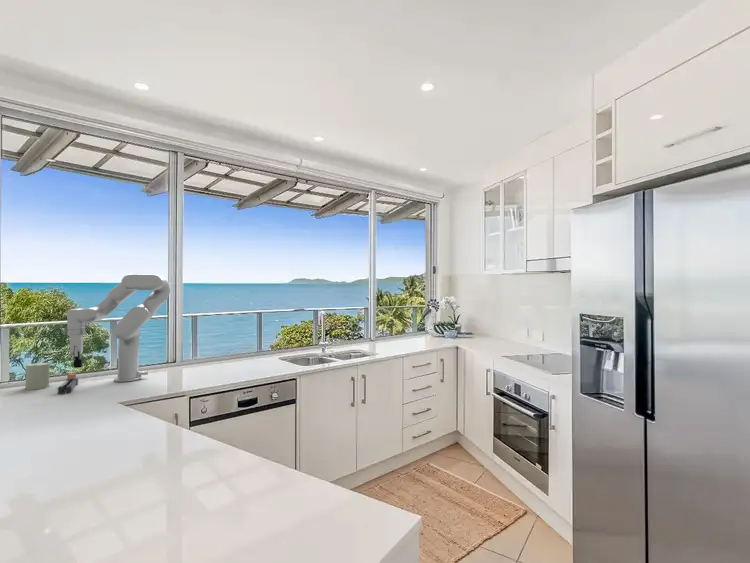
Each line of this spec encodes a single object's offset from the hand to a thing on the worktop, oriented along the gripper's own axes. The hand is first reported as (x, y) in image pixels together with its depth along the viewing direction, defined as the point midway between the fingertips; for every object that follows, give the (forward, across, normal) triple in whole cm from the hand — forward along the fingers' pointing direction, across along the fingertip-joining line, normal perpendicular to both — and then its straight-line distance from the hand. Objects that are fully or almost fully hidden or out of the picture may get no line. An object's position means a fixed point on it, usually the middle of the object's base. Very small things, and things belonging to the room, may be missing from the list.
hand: (77, 367), depth 212 cm
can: (+7, +5, -16) cm, 18 cm away
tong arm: (+8, +18, -4) cm, 20 cm away
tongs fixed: (+8, +15, -2) cm, 17 cm away
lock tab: (+4, +8, -2) cm, 9 cm away
